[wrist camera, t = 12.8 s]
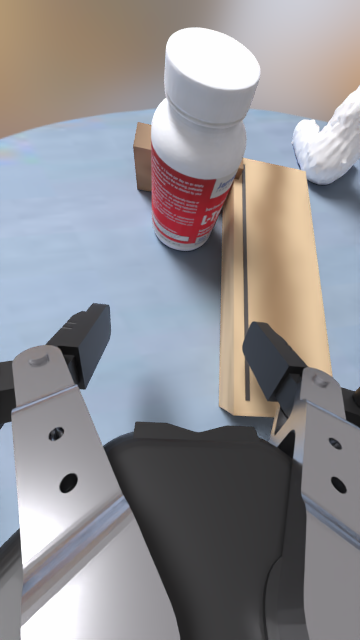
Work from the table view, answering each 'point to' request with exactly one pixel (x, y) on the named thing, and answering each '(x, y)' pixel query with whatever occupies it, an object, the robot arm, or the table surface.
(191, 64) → the pill bottle
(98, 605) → the robot arm
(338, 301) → the table surface
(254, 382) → the wooden l-shaped block
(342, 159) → the seated beast figurine
